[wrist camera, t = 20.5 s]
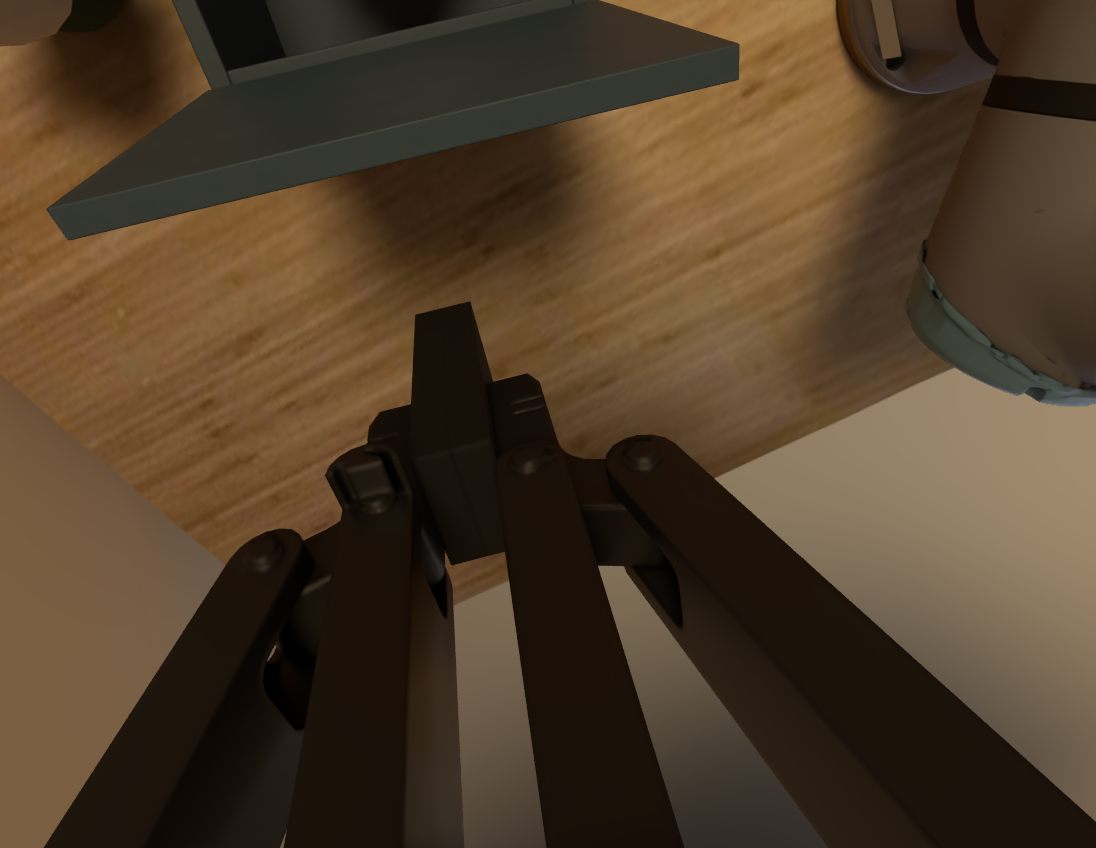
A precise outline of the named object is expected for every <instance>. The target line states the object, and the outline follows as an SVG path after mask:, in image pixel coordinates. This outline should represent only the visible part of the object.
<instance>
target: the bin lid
mask: <svg viewBox="0 0 1096 848" xmlns="http://www.w3.org/2000/svg"><path fill="white" fill-rule="evenodd" d="M738 79H739V44H738V43H735V42H732V41H728V40H725V39H722V38H719V37H716V36H712V35H709V34H706V33H703V32H699V31H696V30H693V29H690V28H687V27H683V26H680V25H677V24H674V23H671V22H667V21H664V20H661V19H658V18H654V17H651V16H648V15H645V14H642V13H638V12H635V11H632V10H629V9H625V8H622V7H619V6H616V5H613V4H609V3H606V2H603V1H600V0H590V1H586V2H582V3H577V4H573V5H569V6H565V7H560V8H556V9H552V10H547V11H543V12H539V13H535V14H530V15H526V16H522V17H518V18H513V19H509V20H505V21H501V22H496V23H492V24H488V25H484V26H479V27H475V28H471V29H467V30H462V31H458V32H454V33H450V34H445V35H441V36H437V37H433V38H428V39H424V40H420V41H416V42H411V43H407V44H403V45H399V46H394V47H390V48H386V49H382V50H377V51H373V52H369V53H365V54H360V55H356V56H352V57H348V58H343V59H339V60H335V61H331V62H326V63H322V64H318V65H314V66H309V67H305V68H301V69H297V70H292V71H288V72H284V73H280V74H275V75H271V76H267V77H263V78H258V79H254V80H250V81H246V82H241V83H237V84H233V85H229V86H224V87H220V88H216V89H212V90H208V91H207V92H205V93H204V94H202V95H201V96H200V97H198V98H197V99H196V100H194V101H193V102H192V103H190V104H189V105H187V106H186V107H185V108H183V109H182V110H181V111H179V112H178V113H176V114H175V115H174V116H172V117H171V118H170V119H168V120H167V121H166V122H164V123H163V124H161V125H160V126H159V127H157V128H156V129H155V130H153V131H152V132H151V133H149V134H148V135H146V136H145V137H144V138H142V139H141V140H140V141H138V142H137V143H136V144H134V145H133V146H131V147H130V148H129V149H127V150H126V151H125V152H123V153H122V154H120V155H119V156H118V157H116V158H115V159H114V160H112V161H111V162H110V163H108V164H107V165H105V166H104V167H103V168H101V169H100V170H99V171H97V172H96V173H95V174H93V175H92V176H90V177H89V178H88V179H86V180H85V181H84V182H82V183H81V184H79V185H78V186H77V187H75V188H74V189H73V190H71V191H70V192H69V193H67V194H66V195H64V196H63V197H62V198H60V199H59V200H58V201H56V202H55V203H54V204H52V205H51V206H49V207H48V208H47V211H48V213H49V214H50V216H51V217H52V218H53V220H54V221H55V223H56V224H57V225H58V227H59V228H60V230H61V231H62V233H63V234H64V235H65V237H66V238H67V239H68V240H73V239H77V238H82V237H86V236H90V235H94V234H98V233H103V232H107V231H111V230H115V229H119V228H123V227H128V226H132V225H136V224H140V223H144V222H148V221H153V220H157V219H161V218H165V217H169V216H173V215H178V214H182V213H186V212H190V211H194V210H198V209H203V208H207V207H211V206H215V205H219V204H223V203H228V202H232V201H236V200H240V199H244V198H248V197H253V196H257V195H261V194H265V193H269V192H273V191H278V190H282V189H286V188H290V187H294V186H298V185H303V184H307V183H311V182H315V181H319V180H323V179H328V178H332V177H336V176H340V175H344V174H348V173H353V172H357V171H361V170H365V169H369V168H373V167H378V166H382V165H386V164H390V163H394V162H399V161H403V160H407V159H411V158H415V157H419V156H424V155H428V154H432V153H436V152H440V151H444V150H449V149H453V148H457V147H461V146H465V145H469V144H474V143H478V142H482V141H486V140H490V139H494V138H499V137H503V136H507V135H511V134H515V133H519V132H524V131H528V130H532V129H536V128H540V127H544V126H549V125H553V124H557V123H561V122H565V121H569V120H574V119H578V118H582V117H586V116H590V115H594V114H599V113H603V112H607V111H611V110H615V109H619V108H624V107H628V106H632V105H636V104H640V103H644V102H649V101H653V100H657V99H661V98H665V97H669V96H674V95H678V94H682V93H686V92H690V91H695V90H699V89H703V88H707V87H711V86H715V85H720V84H724V83H728V82H732V81H736V80H738Z"/></svg>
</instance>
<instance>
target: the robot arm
mask: <svg viewBox="0 0 1096 848" xmlns="http://www.w3.org/2000/svg"><path fill="white" fill-rule="evenodd" d="M838 14H839V21H840V27H841V31H842V35H843V38H844V41H845V44H846V46H847V48H848V50H849V53H850V55H851V56H852V58H853V60H854V61H855V63H856V64H857V65H858V67H859V68H860V69H861V70H862V71H863V72H864V73H865V74H866V75H867V76H868V77H869V78H870V79H872V80H873V81H875V82H876V83H878V84H880V85H882V86H884V87H887V88H890V89H893V90H898V91H903V92H910V93H917V94H933V93H941V92H946V91H950V90H954V89H957V88H961V87H964V86H967V85H970V84H972V83H975V82H978V81H981V80H984V79H987V78H990V77H993V78H992V81H991V83H990V86H989V88H988V91H987V93H986V96H985V98H984V101H983V102H982V105H981V107H980V110H979V112H978V115H977V117H976V120H975V122H974V125H973V127H972V129H971V132H970V134H969V137H968V139H967V142H966V144H965V147H964V149H963V152H962V154H961V157H960V159H959V162H958V164H957V166H956V169H955V171H954V174H953V176H952V179H951V181H950V184H949V186H948V189H947V191H946V194H945V196H944V199H943V201H942V203H941V206H940V208H939V211H938V213H937V216H936V218H935V221H934V223H933V226H932V228H931V231H930V233H929V236H928V238H927V239H926V240H924V241H923V243H922V245H921V248H920V250H919V255H918V261H919V264H918V267H917V270H916V273H915V276H914V279H913V282H912V285H911V288H910V291H909V294H908V297H907V303H906V311H907V315H908V317H909V319H910V322H911V326H912V328H913V330H914V332H915V333H916V334H917V336H918V337H919V338H920V340H921V341H922V342H923V343H924V344H925V345H926V346H927V347H928V348H929V349H930V350H931V351H933V352H934V353H935V354H936V355H937V356H939V357H940V358H941V359H943V360H944V361H946V362H947V363H949V364H950V365H952V366H953V367H955V368H957V369H958V370H960V371H962V372H963V373H965V374H967V375H969V376H971V377H973V378H975V379H977V380H979V381H981V382H983V383H985V384H987V385H989V386H992V387H994V388H997V389H999V390H1002V391H1004V392H1007V393H1010V394H1013V395H1021V394H1023V393H1025V394H1027V395H1029V396H1031V397H1032V398H1034V399H1035V400H1037V401H1038V402H1042V403H1046V404H1052V405H1058V406H1087V405H1091V404H1095V403H1096V0H838ZM367 441H368V443H367V444H366V445H362V446H360V447H357V448H354V449H351V450H350V451H348V452H346V453H345V454H343V455H341V456H340V457H338V458H337V459H336V460H335V461H334V462H333V463H332V464H331V465H330V466H329V468H328V470H327V472H326V474H325V477H326V479H327V480H328V482H329V484H330V486H331V488H332V490H333V492H334V494H335V496H336V498H337V500H338V502H339V504H340V505H341V507H342V509H343V510H342V515H341V520H340V521H339V522H338V523H337V524H335V525H333V526H331V527H330V528H328V529H326V530H324V531H322V532H320V533H318V534H316V535H314V536H312V537H310V538H308V539H306V540H304V541H303V539H302V538H301V536H300V534H298V533H297V532H295V531H294V530H292V529H276V530H272V531H267V532H265V533H263V534H260V535H259V536H256V537H254V538H252V539H251V540H250V541H248V542H247V543H246V544H244V545H243V546H241V547H240V548H239V549H238V550H237V552H236V553H235V554H234V555H233V556H232V557H231V558H230V560H229V561H228V563H227V565H226V566H225V568H224V569H223V571H222V572H221V574H220V575H219V577H218V578H217V580H216V582H215V583H214V585H213V586H212V588H211V589H210V591H209V593H208V594H207V596H206V597H205V599H204V600H203V602H202V604H201V605H200V606H199V608H198V609H197V611H196V613H195V614H194V616H193V617H192V619H191V620H190V622H189V623H188V625H187V626H186V628H185V630H184V631H183V633H182V635H181V636H180V637H179V639H178V641H177V642H176V644H175V645H174V647H173V648H172V650H171V651H170V653H169V655H168V656H167V658H166V659H165V661H164V662H163V664H162V665H161V667H160V668H159V670H158V671H157V673H156V675H155V676H154V678H153V679H152V681H151V682H150V684H149V685H148V687H147V688H146V690H145V692H144V693H143V695H142V696H141V698H140V699H139V701H138V702H137V704H136V706H135V707H134V709H133V710H132V712H131V713H130V715H129V716H128V718H127V720H126V721H125V723H124V724H123V726H122V727H121V729H120V730H119V732H118V733H117V735H116V736H115V738H114V740H113V741H112V743H111V744H110V746H109V747H108V749H107V750H106V752H105V753H104V755H103V757H102V758H101V760H100V761H99V763H98V764H97V766H96V767H95V769H94V771H93V772H92V774H91V775H90V777H89V778H88V780H87V781H86V783H85V785H84V786H83V788H82V789H81V791H80V792H79V794H78V795H77V797H76V798H75V800H74V802H73V803H72V805H71V806H70V808H69V809H68V811H67V812H66V814H65V815H64V817H63V819H62V820H61V822H60V823H59V825H58V826H57V828H56V829H55V831H54V833H53V834H52V836H51V837H50V839H49V840H48V842H47V844H46V845H45V846H44V848H280V846H281V843H282V840H283V838H284V835H285V833H286V830H287V833H286V838H285V844H284V848H464V835H463V834H464V832H463V810H462V788H461V765H460V746H459V745H460V743H459V721H458V701H457V700H458V699H457V678H456V656H455V634H454V633H455V632H454V613H453V611H454V610H453V588H452V583H451V580H450V577H449V574H448V572H447V570H446V567H445V551H446V554H447V556H448V559H449V561H450V564H451V565H455V564H459V563H462V562H466V561H470V560H474V559H478V558H482V557H486V556H490V555H493V554H497V553H501V552H505V554H506V561H507V568H508V576H509V583H510V590H511V597H512V603H513V611H514V618H515V626H516V633H517V639H518V647H519V654H520V661H521V668H522V676H523V683H524V690H525V697H526V704H527V711H528V719H529V725H530V732H531V740H532V747H533V754H534V761H535V768H536V775H537V782H538V790H539V797H540V804H541V811H542V819H543V826H544V832H545V840H546V847H547V848H684V845H683V842H682V839H681V836H680V832H679V830H678V826H677V823H676V819H675V816H674V813H673V810H672V806H671V803H670V800H669V797H668V794H667V790H666V787H665V783H664V780H663V777H662V774H661V771H660V767H659V764H658V761H657V757H656V754H655V751H654V748H653V744H652V741H651V738H650V735H649V731H648V728H647V725H646V721H645V718H644V715H643V712H642V708H641V705H640V702H639V699H638V695H637V692H636V689H635V686H634V683H633V679H632V676H631V673H630V669H629V666H628V663H627V659H626V656H625V653H624V650H623V646H622V643H621V640H620V637H619V633H618V630H617V627H616V624H615V620H614V617H613V614H612V611H611V607H610V604H609V601H608V598H607V594H606V591H605V588H604V585H603V581H602V578H601V575H600V571H599V568H598V566H624V567H625V570H626V572H627V574H628V575H629V577H630V578H631V579H632V581H633V582H634V584H635V585H636V586H637V587H638V589H639V590H640V591H641V593H642V594H643V596H644V597H645V599H646V600H647V601H648V603H649V604H650V605H651V607H652V608H653V609H654V611H655V612H656V613H657V615H658V616H659V617H660V619H661V620H662V622H663V623H664V624H665V626H666V627H667V628H668V630H669V631H670V633H671V634H672V635H673V636H674V638H675V639H676V641H677V642H678V643H679V645H680V646H681V648H682V649H683V650H684V651H685V653H686V654H687V655H688V657H689V658H690V660H691V661H692V663H693V664H694V665H695V666H696V668H697V669H698V671H699V672H700V673H701V675H702V676H703V677H704V679H705V680H706V682H707V683H708V684H709V686H710V687H711V688H712V690H713V691H714V692H715V694H716V695H717V697H718V698H719V699H720V701H721V702H722V703H723V705H724V706H725V707H726V709H727V710H728V711H729V713H730V714H731V715H732V717H733V718H734V720H735V721H736V722H737V724H738V725H739V726H740V728H741V729H742V731H743V732H744V733H745V735H746V736H747V737H748V739H749V740H750V741H751V743H752V744H753V745H754V747H755V748H756V750H757V751H758V752H759V754H760V755H761V756H762V758H763V759H764V761H765V762H766V763H767V765H768V766H769V767H770V768H771V770H772V771H773V773H774V774H775V775H776V777H777V778H778V780H779V781H780V782H781V784H782V785H783V786H784V788H785V789H786V790H787V792H788V793H789V795H790V796H791V797H792V799H793V800H794V801H795V803H796V804H797V805H798V807H799V808H800V809H801V811H802V812H803V814H804V815H805V816H806V818H807V819H808V820H809V822H810V823H811V824H812V826H813V827H814V829H815V830H816V831H817V833H818V834H819V835H820V837H821V838H822V839H823V840H824V842H825V844H826V845H827V846H828V848H1096V822H1095V821H1094V820H1093V819H1092V818H1091V817H1090V816H1089V815H1088V814H1086V813H1085V812H1084V811H1083V810H1082V809H1081V808H1080V807H1079V806H1078V805H1076V804H1075V803H1074V802H1073V801H1072V800H1071V799H1070V798H1069V797H1067V796H1066V795H1065V794H1064V793H1063V792H1062V791H1061V790H1060V789H1059V788H1058V787H1056V786H1055V785H1054V784H1053V783H1052V782H1051V781H1050V780H1049V779H1048V778H1046V777H1045V776H1044V775H1043V774H1042V773H1041V772H1040V771H1039V770H1038V769H1036V768H1035V767H1034V766H1033V765H1032V764H1031V763H1030V762H1029V761H1027V760H1026V759H1025V758H1024V757H1023V756H1022V755H1021V754H1020V753H1019V752H1018V751H1016V750H1015V749H1014V748H1013V747H1012V746H1011V745H1010V744H1009V743H1007V742H1006V741H1005V740H1004V739H1003V738H1002V737H1001V736H1000V735H999V734H998V733H996V732H995V731H994V730H993V729H992V728H991V727H990V726H989V725H988V724H986V723H985V722H984V721H983V720H982V719H981V718H980V717H979V716H978V715H976V714H975V713H974V712H973V711H972V710H971V709H970V708H969V707H967V706H966V705H965V704H964V703H963V702H962V701H961V700H960V699H959V698H957V697H956V696H955V695H954V694H953V693H952V692H951V691H950V690H949V689H947V688H946V687H945V686H944V685H943V684H942V683H941V682H940V681H938V680H937V679H936V678H935V677H934V676H933V675H932V674H931V673H930V672H928V671H927V670H926V669H925V668H924V667H923V666H922V665H921V664H920V663H918V662H917V661H916V660H915V659H914V658H913V657H912V656H911V655H910V654H909V653H907V652H906V651H905V650H904V649H903V648H902V647H900V645H898V644H897V643H896V642H895V641H894V640H893V639H892V638H891V637H890V636H889V635H887V634H886V633H885V632H884V631H883V630H882V629H881V628H880V627H878V626H877V625H876V624H875V623H874V622H873V621H872V620H871V619H870V618H868V617H867V616H866V615H865V614H864V613H863V612H862V611H861V610H860V609H859V608H857V607H856V606H855V605H854V604H853V603H852V602H851V601H849V600H848V599H847V598H846V597H845V596H844V595H843V594H842V593H841V592H840V591H838V590H837V589H836V588H835V587H834V586H833V585H832V584H831V583H829V582H828V581H827V580H826V579H825V578H824V577H823V576H822V575H821V574H820V573H818V572H817V571H816V570H815V569H814V568H813V567H812V566H811V565H809V564H808V563H807V562H806V561H805V560H804V559H803V558H802V557H801V556H799V555H798V554H797V553H796V552H795V551H794V550H793V549H792V548H791V547H790V546H788V545H787V544H786V543H785V542H784V541H783V540H782V539H780V537H778V536H777V535H776V534H775V533H774V532H773V531H772V530H771V529H769V528H768V527H767V526H766V525H765V524H764V523H763V522H762V521H761V520H760V519H758V518H757V517H756V516H755V515H754V514H753V513H752V512H751V511H750V510H748V509H747V508H746V507H745V506H744V505H743V504H742V503H741V502H739V501H738V500H737V499H736V498H735V497H734V496H733V495H732V494H731V493H729V492H728V491H727V490H726V489H725V488H724V487H723V486H722V485H721V484H719V483H718V482H717V481H716V480H715V479H714V478H713V477H712V476H711V475H709V474H708V473H707V472H706V471H705V470H704V469H703V468H702V467H701V466H699V465H698V464H697V463H696V462H695V461H694V460H693V459H692V458H691V457H689V456H688V455H687V454H686V453H685V452H684V451H683V450H682V449H681V448H679V447H678V446H677V445H676V444H675V443H673V442H672V441H670V440H668V439H667V438H665V437H661V436H656V435H636V436H633V437H629V438H626V439H623V440H622V441H620V442H618V443H617V444H615V445H613V447H612V448H611V449H610V450H609V452H608V453H607V455H606V459H583V458H579V457H574V456H572V455H570V454H568V453H566V452H565V451H564V450H563V449H562V448H561V447H560V445H559V443H558V440H557V437H556V434H555V431H554V427H553V424H552V421H551V418H550V414H549V411H548V408H547V405H546V401H545V398H544V395H543V392H542V388H541V385H540V382H539V381H537V380H536V379H535V378H533V377H532V376H530V375H529V374H528V373H527V374H523V375H519V376H515V377H511V378H507V379H503V380H499V381H495V382H493V380H492V376H491V373H490V369H489V366H488V362H487V359H486V355H485V352H484V348H483V344H482V341H481V337H480V334H479V330H478V327H477V323H476V320H475V316H474V313H473V309H472V306H471V302H470V301H469V302H465V303H461V304H457V305H453V306H449V307H445V308H441V309H437V310H433V311H429V312H425V313H421V314H417V315H415V332H414V354H413V375H412V396H411V404H410V405H406V406H402V407H398V408H394V409H390V410H386V411H382V412H380V413H379V414H378V415H377V417H376V418H375V419H374V421H373V422H372V424H371V425H370V426H369V432H368V439H367ZM274 645H276V649H275V652H274V654H273V655H272V657H271V658H270V659H269V661H267V660H268V658H269V656H270V653H271V651H272V649H273V647H274Z"/></svg>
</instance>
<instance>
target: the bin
mask: <svg viewBox="0 0 1096 848" xmlns="http://www.w3.org/2000/svg"><path fill="white" fill-rule="evenodd" d="M586 1H590V0H172V2H173V4H174V7H175V9H176V11H177V13H178V15H179V18H180V20H181V22H182V24H183V27H184V29H185V31H186V33H187V36H188V38H189V40H190V42H191V45H192V47H193V49H194V51H195V53H196V56H197V58H198V60H199V62H200V65H201V67H202V69H203V71H204V74H205V76H206V78H207V80H208V83H209V85H210V87H211V89H216V88H220V87H224V86H229V85H233V84H237V83H241V82H246V81H250V80H254V79H258V78H263V77H267V76H271V75H275V74H280V73H284V72H288V71H292V70H297V69H301V68H305V67H309V66H314V65H318V64H322V63H326V62H331V61H335V60H339V59H343V58H348V57H352V56H356V55H360V54H365V53H369V52H373V51H377V50H382V49H386V48H390V47H394V46H399V45H403V44H407V43H411V42H416V41H420V40H424V39H428V38H433V37H437V36H441V35H445V34H450V33H454V32H458V31H462V30H467V29H471V28H475V27H479V26H484V25H488V24H492V23H496V22H501V21H505V20H509V19H513V18H518V17H522V16H526V15H530V14H535V13H539V12H543V11H547V10H552V9H556V8H560V7H565V6H569V5H573V4H577V3H582V2H586Z"/></svg>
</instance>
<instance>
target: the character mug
mask: <svg viewBox="0 0 1096 848" xmlns="http://www.w3.org/2000/svg"><path fill="white" fill-rule="evenodd" d="M119 3H120V0H0V46H14V45H25V44H27V43H30V42H33V41H36V40H39V39H42V38H45V37H48V36H51V35H54V34H56V32H57V31H64V32H90V31H96V30H98V29H99V28H101V27H102V26H104V25H105V24H107V23H108V22H109V21H111V20H112V19H114V18H115V16H116V13H117V9H118V6H119Z"/></svg>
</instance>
